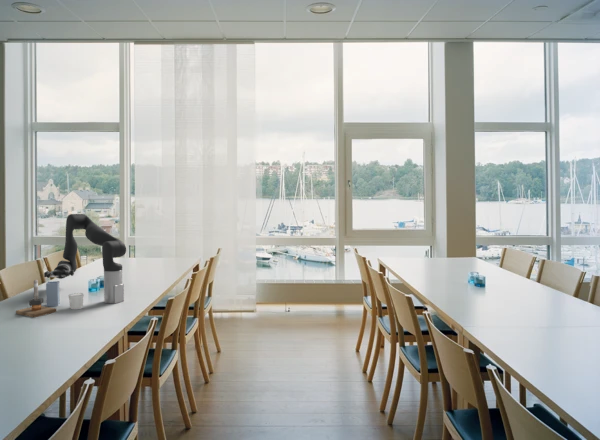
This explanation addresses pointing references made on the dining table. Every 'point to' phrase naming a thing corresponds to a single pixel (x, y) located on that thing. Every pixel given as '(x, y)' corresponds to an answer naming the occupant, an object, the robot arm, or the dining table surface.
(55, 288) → the sleeve
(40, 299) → the ring
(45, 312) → the post stand
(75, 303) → the white cup
